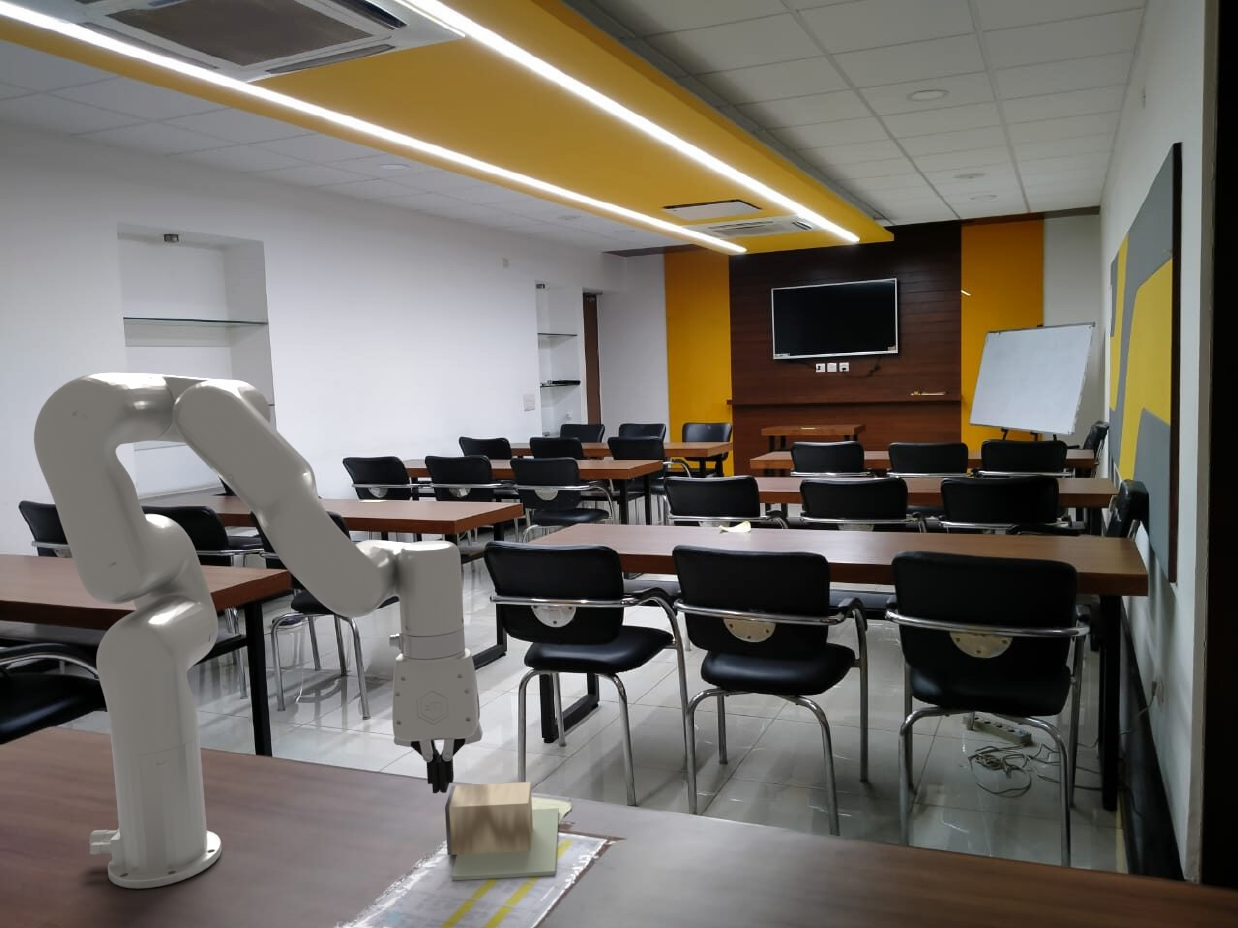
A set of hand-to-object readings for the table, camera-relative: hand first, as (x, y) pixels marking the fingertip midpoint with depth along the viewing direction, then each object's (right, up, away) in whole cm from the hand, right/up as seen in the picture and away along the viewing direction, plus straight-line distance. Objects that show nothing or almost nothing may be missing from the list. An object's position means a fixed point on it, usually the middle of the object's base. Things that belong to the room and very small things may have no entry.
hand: (441, 787), depth 117 cm
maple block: (+1, -4, 0) cm, 4 cm away
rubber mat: (+8, -7, +1) cm, 11 cm away
